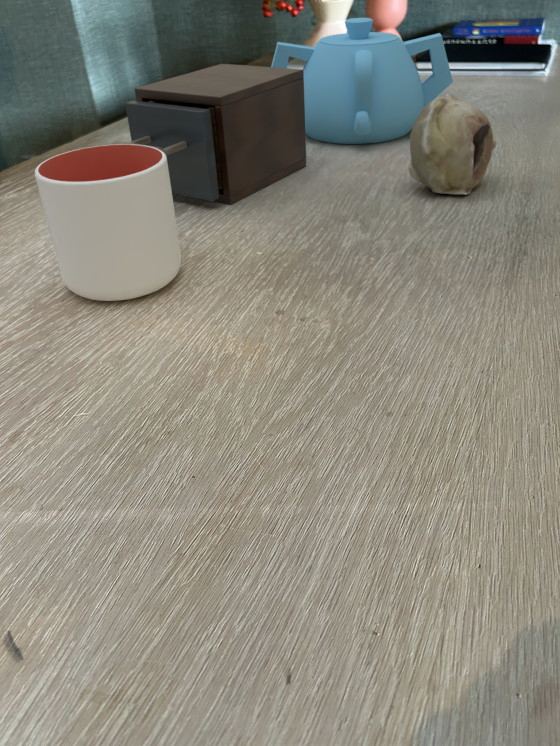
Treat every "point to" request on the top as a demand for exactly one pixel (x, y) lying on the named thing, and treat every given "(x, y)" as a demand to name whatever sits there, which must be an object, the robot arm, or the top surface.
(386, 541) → the top surface
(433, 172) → the garlic bulb
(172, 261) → the cup
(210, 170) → the drawer
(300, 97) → the cabinet
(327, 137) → the teapot
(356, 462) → the top surface
